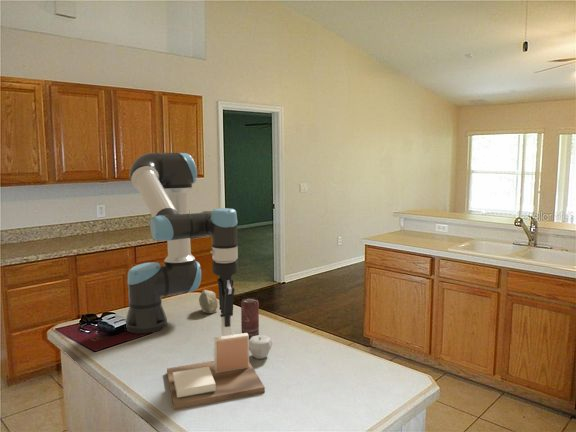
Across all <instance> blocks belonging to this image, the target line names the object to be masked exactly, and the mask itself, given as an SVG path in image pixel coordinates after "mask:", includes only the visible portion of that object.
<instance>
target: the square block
mask: <svg viewBox="0 0 576 432" xmlns="http://www.w3.org/2000/svg"><path fill="white" fill-rule="evenodd" d="M173 381H174V386H175V390H176V395H177V398H178V397H179V398H182V397H187V396H193V395H198V394H204V393H209V392H213V391H216V383H215V381H214V378H213V376H212V373H211V371H210V368H209V367H203V368H197V369H191V370H185V371H179V372H173Z"/></svg>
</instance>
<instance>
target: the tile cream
mask: <svg viewBox="0 0 576 432" xmlns="http://www.w3.org/2000/svg"><path fill="white" fill-rule="evenodd" d="M213 361H214V370H215V373H219V372H225V371H231V370H237V369H243V368H249V362H250V350H249V335H248V333H242V332H241V333H237V334H235V333H234V334H231V335H228V336H222V335H221V336H215V337H213Z"/></svg>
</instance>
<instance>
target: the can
mask: <svg viewBox="0 0 576 432" xmlns="http://www.w3.org/2000/svg"><path fill="white" fill-rule="evenodd" d="M259 306H260V305H259V300H258V298H255V297H245V298H243V299H242V300H241V302H240V310H241V313H240V315H241V317H240V321H241V324H240V325H241V327H240V328H241V334H242V333H248V335H249V340H250V339H251V337H252V336H257V335H260V319H259V318H260V317H259V316H260V311H259V310H260V309H259Z"/></svg>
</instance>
